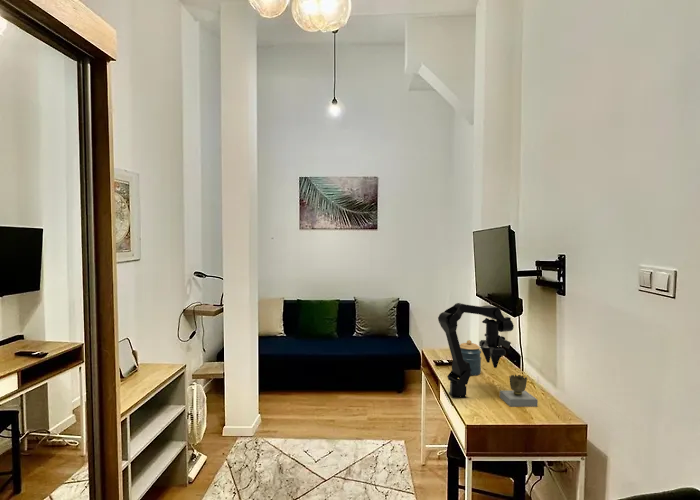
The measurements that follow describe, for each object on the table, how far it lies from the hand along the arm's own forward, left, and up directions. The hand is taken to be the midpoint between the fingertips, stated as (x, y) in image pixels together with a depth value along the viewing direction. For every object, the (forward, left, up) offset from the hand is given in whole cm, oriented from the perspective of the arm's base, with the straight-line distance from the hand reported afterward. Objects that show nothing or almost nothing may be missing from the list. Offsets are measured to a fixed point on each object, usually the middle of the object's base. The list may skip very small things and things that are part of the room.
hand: (491, 365), depth 213 cm
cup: (+7, -14, -10) cm, 18 cm away
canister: (-1, +31, -13) cm, 34 cm away
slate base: (+7, -14, -12) cm, 20 cm away
